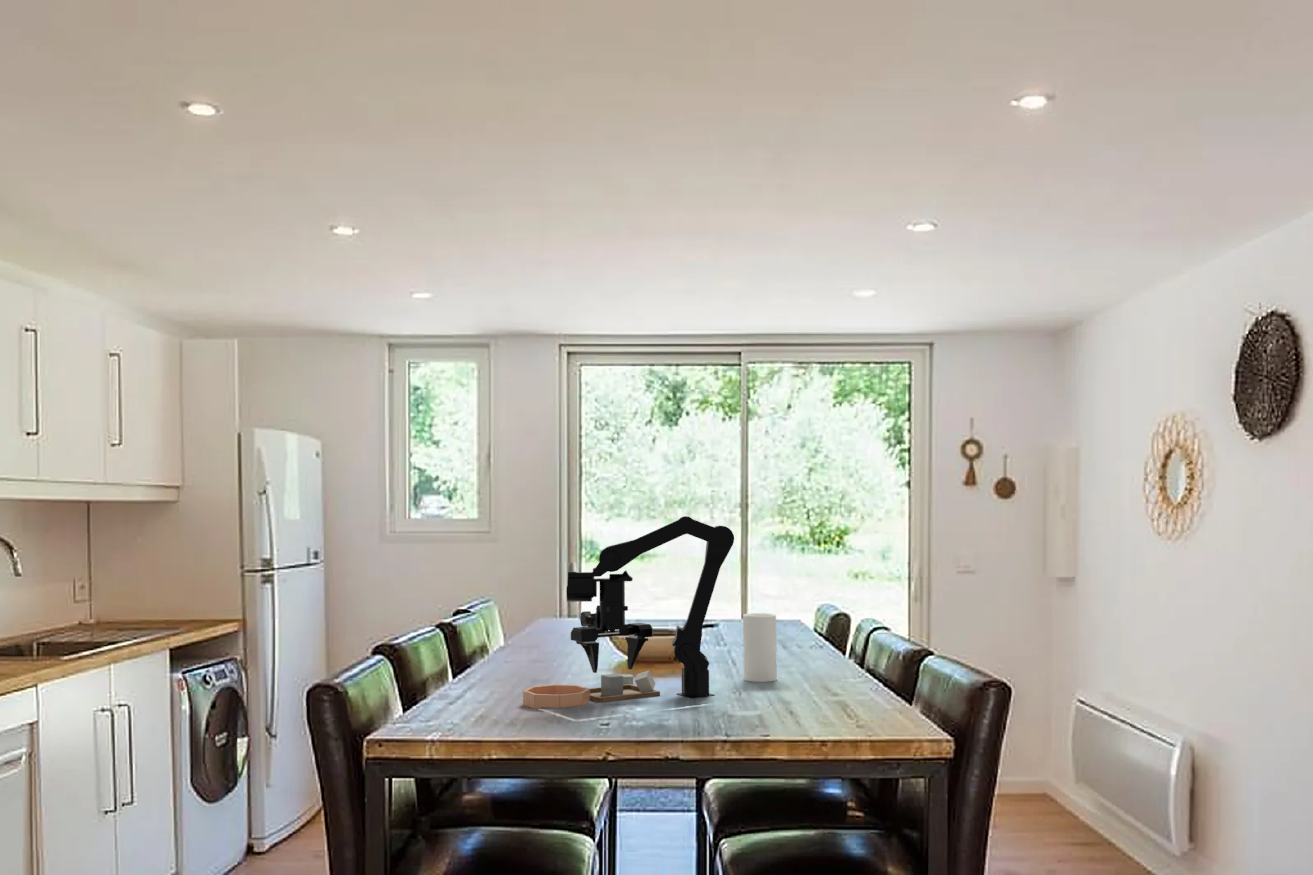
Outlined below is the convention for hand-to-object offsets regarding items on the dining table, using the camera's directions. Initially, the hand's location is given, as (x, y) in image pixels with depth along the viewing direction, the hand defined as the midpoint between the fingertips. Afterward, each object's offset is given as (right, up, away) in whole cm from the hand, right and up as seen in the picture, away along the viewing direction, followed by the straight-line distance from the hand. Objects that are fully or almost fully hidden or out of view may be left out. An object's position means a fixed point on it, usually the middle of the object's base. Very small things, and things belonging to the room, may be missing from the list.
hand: (612, 671), depth 241 cm
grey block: (0, -5, 0) cm, 5 cm away
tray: (+1, -6, 0) cm, 6 cm away
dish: (-12, -5, -8) cm, 15 cm away
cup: (+36, -8, +25) cm, 44 cm away
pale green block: (+3, -4, +15) cm, 16 cm away
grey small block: (+6, -4, +2) cm, 7 cm away
